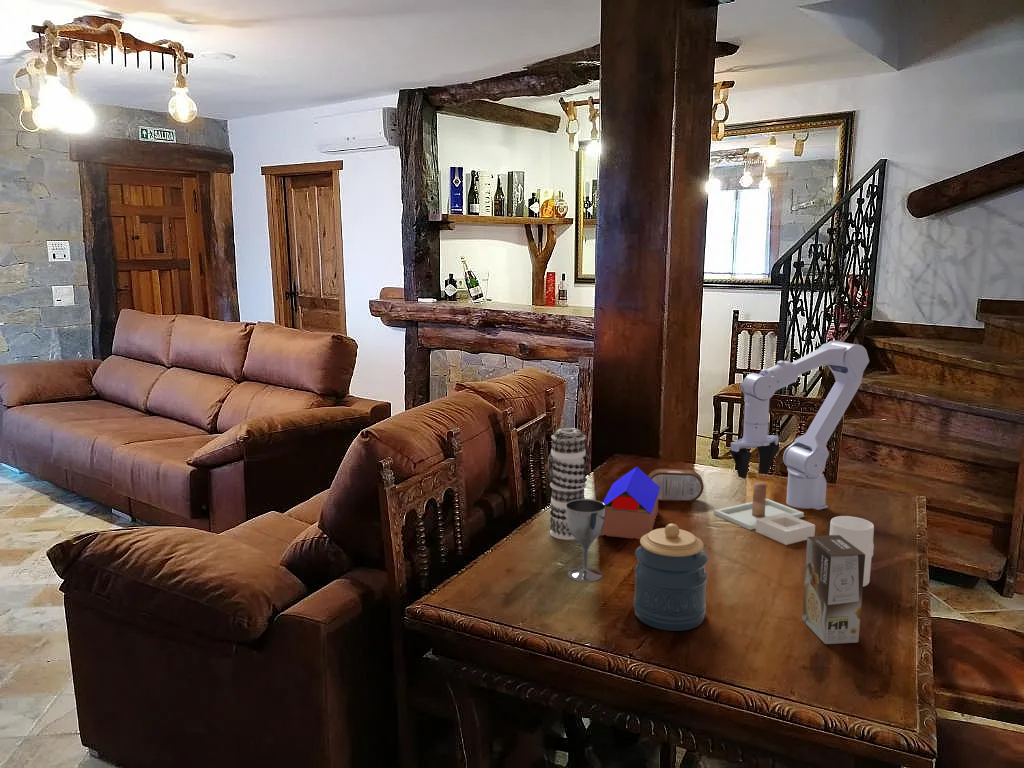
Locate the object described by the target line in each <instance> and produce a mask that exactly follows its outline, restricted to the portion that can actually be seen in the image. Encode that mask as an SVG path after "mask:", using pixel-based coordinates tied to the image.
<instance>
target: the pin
mask: <svg viewBox="0 0 1024 768" xmlns="http://www.w3.org/2000/svg"><path fill="white" fill-rule="evenodd" d="M767 486H768V484H767V483H765V482H760V481H759V482H758V481H756V482H754V483H753V488H752V489H753V492H752V502H753V506H752V516H754V517H764V516H765V503H766V499H767Z"/></svg>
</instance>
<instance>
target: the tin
mask: <svg viewBox="0 0 1024 768" xmlns="http://www.w3.org/2000/svg"><path fill="white" fill-rule="evenodd" d="M647 476H648V477H649V478H650V479H651V480H652V481H654V482H655V483H656V484H657V485H658V486H659V487H660V490H659V494H658V501H659V500H660V502H679V501H689V502H688V503H690V502H694V501H697V500H698V499H699V498H700V497H701V496H702V494H703V492H704V487H705V486H704V482H703V481H704V480H703V479H702V477H701V475H700V474H699V473H698V472H697V471H694V470H692V469H678V468H677V469H675V468H657V469H654V470H653V471H651V472H650V473H649V474H648V475H647Z"/></svg>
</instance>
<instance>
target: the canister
mask: <svg viewBox="0 0 1024 768" xmlns="http://www.w3.org/2000/svg"><path fill="white" fill-rule="evenodd" d="M639 544H640V545H639V546H638V547H637V548H636V549H635V551H634V555H635V558H636V560H637V564H636V565H635V567H634V574H635V578H634V579H635V580H634V581H635V582H634V583H635V585H634V597H633V609H634V614H635V616H636V618H637V619H638V620H639V621H640V622H642V623H644V624H645V625H647V626H649V627H651V628H655V629H657V630H662V631H671V632H680V631H682V632H683V631H688V630H693V629H695V628H697V627H699V626H700V625H701V624H702V623H703V621H704V620H705V615H706V610H707V604H706V592H707V591H706V588H707V587H706V586H707V580H708V579H707V578H708V572H707V571H706V569H705V566H706V564H707V563H708V561H709V557H708V554H707V552H705V550H704V545H705V544H704V542H703V540H702V539H700V538H699V537H697V536H695V534H693V533H692V532H690V531H689V530H688V531H687V530H684V529H681V528H680V527H679V526H678V525H677V524H676V523H668V524H667V525H666V526H665V527H660V528H656V529H652V531H651V532H649V533H647V534H645V535H644V536H642V537H641V539H639Z"/></svg>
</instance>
